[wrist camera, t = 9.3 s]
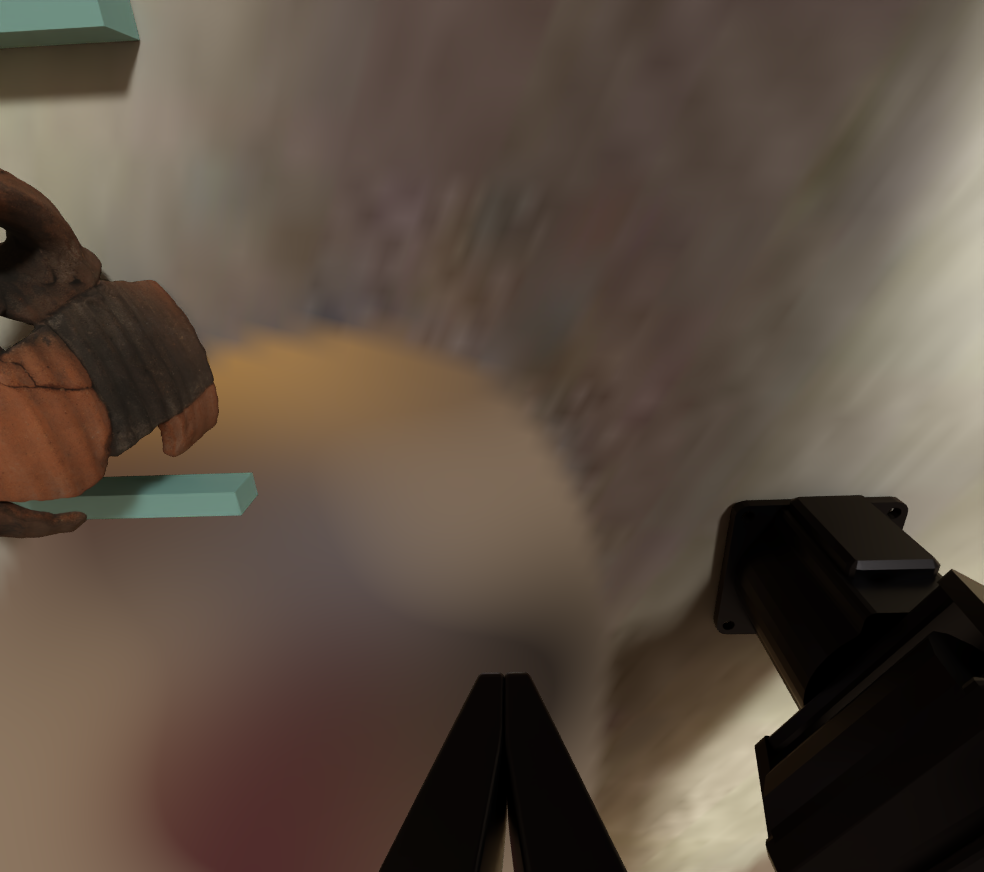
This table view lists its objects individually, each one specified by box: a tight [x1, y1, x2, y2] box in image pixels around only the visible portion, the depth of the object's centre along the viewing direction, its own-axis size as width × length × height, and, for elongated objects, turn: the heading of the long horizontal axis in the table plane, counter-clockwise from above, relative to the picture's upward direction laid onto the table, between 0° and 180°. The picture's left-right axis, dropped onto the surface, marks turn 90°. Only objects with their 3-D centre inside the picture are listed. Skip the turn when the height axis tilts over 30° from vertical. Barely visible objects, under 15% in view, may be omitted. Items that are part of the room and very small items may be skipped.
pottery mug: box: [0, 169, 219, 538], centre depth 17 cm, size 12×10×8 cm
